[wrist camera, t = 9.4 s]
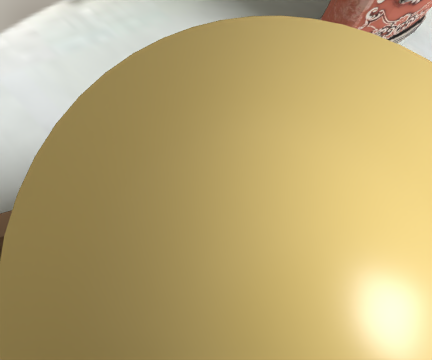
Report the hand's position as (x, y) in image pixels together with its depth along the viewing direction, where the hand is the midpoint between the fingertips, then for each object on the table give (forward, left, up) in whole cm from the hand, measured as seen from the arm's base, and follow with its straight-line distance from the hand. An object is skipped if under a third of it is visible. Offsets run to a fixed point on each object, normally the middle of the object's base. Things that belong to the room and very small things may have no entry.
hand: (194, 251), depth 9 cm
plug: (-1, 0, -7) cm, 7 cm away
